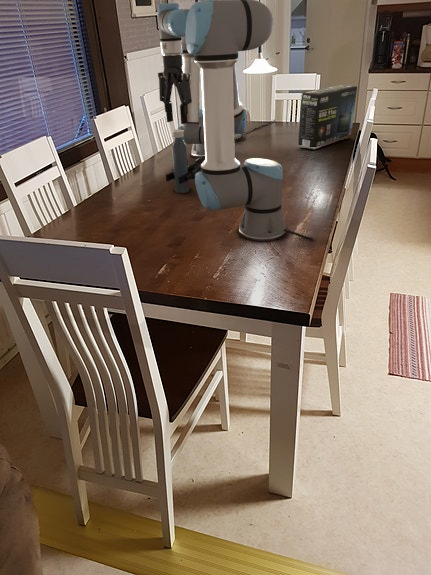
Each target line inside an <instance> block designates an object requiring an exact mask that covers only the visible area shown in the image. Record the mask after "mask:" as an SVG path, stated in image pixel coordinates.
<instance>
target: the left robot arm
mask: <svg viewBox="0 0 431 575" xmlns="http://www.w3.org/2000/svg"><path fill="white" fill-rule="evenodd" d="M181 38H182V51H183V52H182V53H181V55H182V56H183V66H182V70H183V72H184V73H186V74H187V73H189V74H190V78H189V83H190V91H191V99H192V103H189V104H188V114H187V123H185V124H181V125H179V126H178V127H177V128H176V130H183V132H184V136H183V137H182V139H183V140H184V142H185V144H186V145H192V147H191V150H190V151H191V152H190V154H191V157H193V158H196V160H195V162H192V163H191V164H188V173H186V174H184V175H182V176H179V177H178V178H179V184H181V183H184V182H186V181H188V180H189V181H190V180H195V175H196V173H198V172H201V164H202V163H203V161H204V160H205V159H206V157H205V139H204V121H203V105H202V106H200V98H201V97H200V92H201V91H200V86H201V83H200V81H201V69H200V67H199V66H198V65H197V64H196V63H195V62H194V55H192V54H189V52H188V51H187V44H186V38H185V36H184V37H181ZM236 65H237V64H236V63H235V64H234V66H233V97H234V134H235V135H236V134H242V133H244V131H246V126H247V121H248V120H247V119H248V109H247V108H245V107H244V105H243V103H242V102H241V101H240V96H239V88H238V87H239V85H238V77H237V66H236ZM270 121H271V123H274V122H275V121H276V120H275V119H273V121H272V120H270ZM172 180H174V170H173V168H171V172H168V173H165V181H166V182H170V181H172Z"/></svg>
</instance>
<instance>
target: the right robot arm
mask: <svg viewBox="0 0 431 575" xmlns="http://www.w3.org/2000/svg"><path fill="white" fill-rule="evenodd" d="M156 16H157V19H158V20H157V22H158V30H159V41H160V42H159V43H160V52H161V66H162V67H163V71H159V72H158V73H157V78H158V86H159V87H158V89H159V101H160V102H162V103H163V104H164V105H163V106H164V111H165V112H164V113H165V116H166V123H170V122H171V123H172V122H174V114H173V113H174V112H173V103H172V100H171V97H172V91H173V86H174V87H176V91H177V95H178V97H179V101H180V105H179V112H180V124H181V125H182V124H185V123H187V114H188V104H189V103H192V99H191V91H190V83H189V78H190V74H189V73H187V74H186V73H184V72H183V70H182V66H183V56H182V55H181V53H182V52H183V51H182V37H184V36H185V38H186V44H187V51H188V52H189V54H192V55H194V62H195V63H196V64H197V65H198V66H199V67H200V81H201V83H200V85H201V101H202V106H203V121H204V139H205V157H206V159H205V160H204V161H203V163H202V164H201V172H198V173H196V175H195V178H194V183H195V189H196V193H197V196H198V198H199V201H200V203H201V205H202V207H203V208H204V209H206V210H207V211H222V210H226V209H231V208H238V207H244V211H243V213H242V216H241V220H240V222H239V226H238V232H239V235H240V236H241V237H242V238H244V239H247V240H250V241H254V242H271V241H277V240H279V239H281V238H283V237H285V235H286V234H291V235H294V236H297V237H299V238H301V239H305V240H309V241H313V240H314V238H313V237H312V236H307V235H304V234H301V233H299V232H296V231H293V230H290V229H287V223H286V221H285V216H284V214H283V210H282V200H283V183H284V174H283V173H284V172H283V171H284V170H283V166H282V164H280V163H279V162H277V161H275V160H271V159H266V158H259V157H258V158H257V157H256V158H255V157H253V158H248V159H245V160H244V163H243V165H242V166H241V162H240V161H239V160H238V159H237V158H236V146H235V142H236V141H235V140H234V97H233V66H234V64H236V63H237V62H238V61H239V52H247V51H252V50H256V49H258V48H260V47H262V46H263V45H264V44H266V42H267V41H268V40H269V38H270V37H271V35H272V32H273V29H274V18H273V14H272V11H271V10H270V9H269V8H268V6H267V5H266V4H264V3H263V2H261V1H258V0H201V1H196V2H194V3H192V5H191V6H190V8H180V5H179V3H178V2H168V3H167V2H166V3H159V4H158V5H157V15H156Z"/></svg>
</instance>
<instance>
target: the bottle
mask: <svg viewBox="0 0 431 575" xmlns="http://www.w3.org/2000/svg"><path fill="white" fill-rule="evenodd" d="M187 152H188V150H187V144H185V142H184V140H183V139H182V137H179V138H175V137H173V141H172V144H171V156H172V158H171V159H172V167H173V168H172V169H173V170H174V179H173V180H174V182H173V183H174V192H175V193H177V194H184V193H185V194H186V193H188V192H190V182H189V181H190V180H188V181H186V182H184V183H181V184H179V178H178V177H179V176H182V175H184V174H186V173H188V165H189V164H188V153H187Z"/></svg>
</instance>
